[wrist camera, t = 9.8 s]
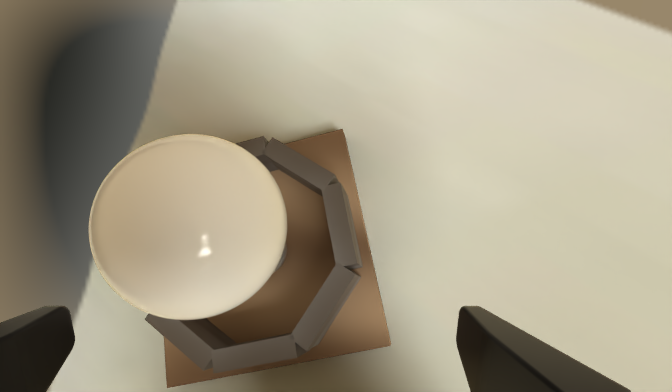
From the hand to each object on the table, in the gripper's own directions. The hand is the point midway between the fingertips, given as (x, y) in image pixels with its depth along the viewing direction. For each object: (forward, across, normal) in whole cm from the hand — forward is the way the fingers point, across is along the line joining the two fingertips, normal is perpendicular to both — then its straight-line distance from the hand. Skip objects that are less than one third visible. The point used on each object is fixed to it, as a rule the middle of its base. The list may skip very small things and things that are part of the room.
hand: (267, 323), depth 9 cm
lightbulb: (+12, +2, +4) cm, 12 cm away
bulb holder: (+13, +2, +4) cm, 13 cm away
